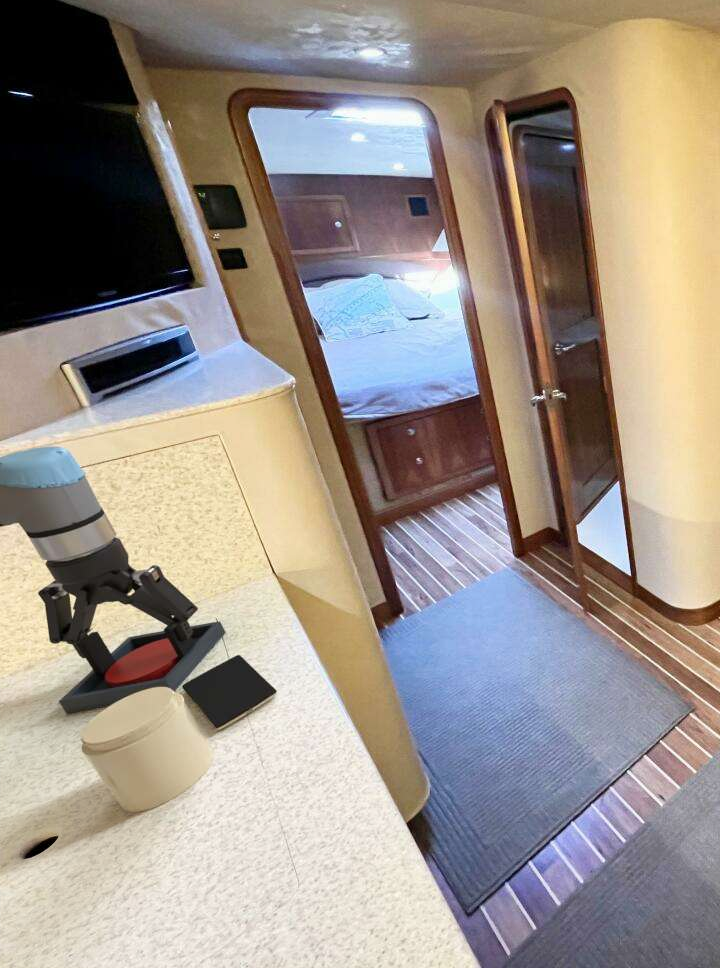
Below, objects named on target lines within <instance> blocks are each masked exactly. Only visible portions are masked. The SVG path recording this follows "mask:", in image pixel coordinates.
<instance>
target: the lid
mask: <svg viewBox="0 0 720 968" xmlns="http://www.w3.org/2000/svg"><path fill="white" fill-rule="evenodd" d="M179 661H180V659H179V657H178V655H177V654H176V652H175V650H174V648H173V646H172V645H171V643H170V641H169V639H168V638H166V639H162V640H158V641H155V642H152V643H149V644H147V645H144V646H142V647H140V648H138V649H136V650H134V651H132V652H130V653H128V654H127V655H125V656H124V657H122V658H121V659H119V660H118V661H117V662H115V663H114V664H113V665H112V666H111V667H110V668H109V669H108V671H107V672H106V674H105V680H106V681H107V683H108V685H109V686H110V688H115V687H121V686H126V685H131V684H136V683H142V682H147V681H152V680H158V679H160V678H162V677H164V676H166V675H167V674H168V673H169V672H170V671H171V670H172V669H173V668H174V666H175V665H176V664H177V663H178V662H179Z"/></svg>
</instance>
